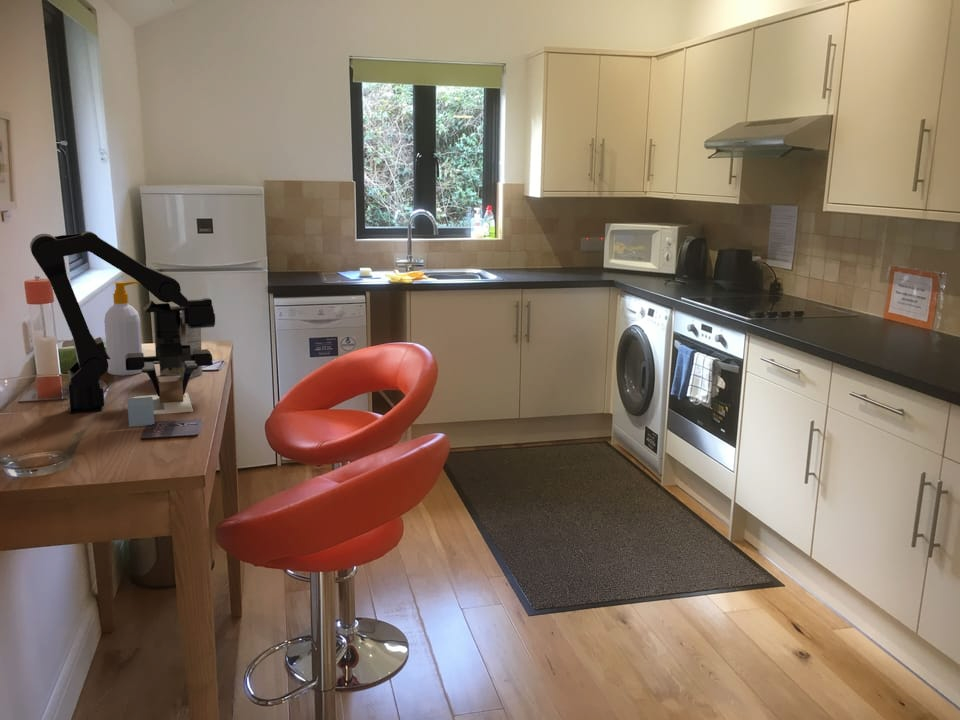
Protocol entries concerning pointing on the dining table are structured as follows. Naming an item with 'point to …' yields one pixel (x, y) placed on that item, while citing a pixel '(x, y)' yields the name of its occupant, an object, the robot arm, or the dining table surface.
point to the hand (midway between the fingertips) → (171, 395)
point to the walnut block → (170, 389)
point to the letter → (170, 405)
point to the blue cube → (140, 411)
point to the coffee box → (194, 340)
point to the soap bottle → (122, 331)
